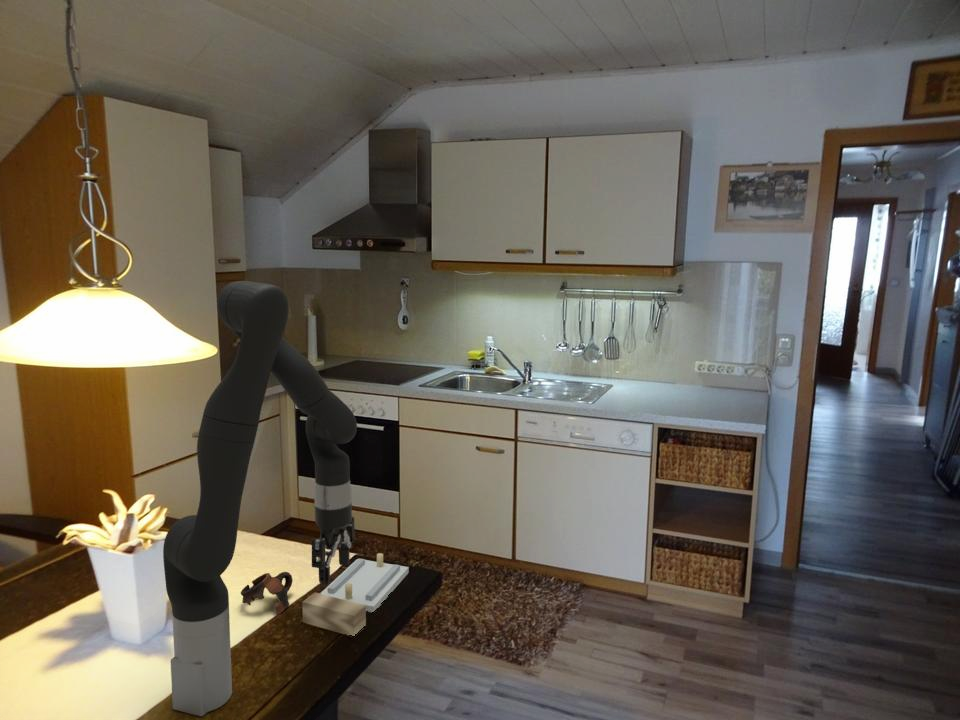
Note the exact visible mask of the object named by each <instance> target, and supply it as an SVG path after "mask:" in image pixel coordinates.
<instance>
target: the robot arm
mask: <svg viewBox="0 0 960 720" xmlns="http://www.w3.org/2000/svg"><path fill="white" fill-rule="evenodd" d="M216 305H217V312H218V315H219V317H220V320H221V322H222V323H223V324H224V325H225V326H226V327H227V328H228V329H229V330H230V331H231V332H232V333H233V334H234V335H235V336H236V337H237V338H238V339H240V340H239V343H238V348H237V353H236V355H235V358H234V360H233V363H232V365H231V367H230V369H229V370H228V371H227V373H226V374H225V376H224V377H223V379H222V380H221V381H220V382H219V384H218V385H217V386H216V388H214V390H213V391H212V393H211V395H210V396H209V398H208V399H207V402H206V403H205V407H204V410H203V413H202V417H201V420H200V421H201V422H200V425H199V429H198V435H197V436H198V437H197V442H196V443H197V444H196V455H197V456H196V459H197V467H198V468H197V469H198V474H199V482H200V483H199V487H200V492H199V493H200V495H199V496H200V497H199V502H198V508H197V512H196V514H191V515H187V516H183V517H181V518H180V519H178V520H177V521H175V522H174V523H172V524H173V525H171V526H170V528H169V530H168V531H167V533H166V535H165V537H164V542H163V551H162V552H163V557H162V558H163V560H162V561H163V568H164V571H163V572H164V580H165V588H166V589H165V591H166V594H167V597H168V600H169V602H170V605H171V614H172V615H171V616H172V634H173V652H174V654H173V655H174V656H173V657H172V658H171V659H170V662H169V663H170V677H171V678H170V680H171V697H172V709H173V710H174V711H179V712H182V713H183V712H184V713H187V714H190V715H194V716H198V717H204V715H206V714H207V713H210V712H212V711H214V710H216V709H218V708H221V707H222V706H223V705H225V704H226V703H228V701H230V700H229V699H231V697H232V694H233V682H232V656H231V655H232V653H231V627H230V624H231V623H230V597H229V590H228V587H227V585H226V583H225V582H224V579H222V577H221V575H222V574H224V573H225V572H226V570H227V569H228V567H229V566H230V564H231V562H232V560H233V557H234V554H235V550H236V545H237V539H238V538H237V537H238V528H239V520H240V514H241V513H240V512H241V503H242V498H243V495H244V489H245V484H246V480H247V475H248V470H249V466H250V461H251V456H252V452H253V449H254V445H255V440H256V437H257V432H258V428H259V423H260V419H261V417H260V416H261V412H262V407H263V404H264V400H265V396H266V392H267V388H268V384H269V380H270V377H271V373H272V375H273V376H274V377H275V379H276V380H277V382H278V383H279V384H280V386H281V387H282V388H283V389H284V391H285V392H286V394H287V395H288V396H289V398H290V399H291V400H292V402H293V403H294V406H296V407H297V409H298V410H299V411H300V412H301V413H303V414H304V415H307V417H306V421H305V433H306V438H307V441H308V446H309V449H310V452H311V455H312V457H313V458H312V459H313V461H314V470H315V471H314V478H315V479H314V480H315V483H314V484H315V485H314V494H313V495H314V497H313V498H314V522H315V525H316V526H318V528H319V529H320V535H319V538H312V540H311V567H312V568H316V569H318V582H319V583H320V584H324V585H329V583H331V566H330V565H331V560H332V558H334V557H335V555H336V553H337V549H338V564H339V565H340V566H345V567H347V566H348V567H349V566H350V561H351V560H350V558H351V557H350V549H351V547H352V543H355V542H356V530H355V517H354V516H353V512H352V510H353V509H352V508H353V507H352V485H351V474H350V473H351V469H350V466H351V465H350V457H349V455H348V454H347V453H346V452H345V451H343V450H341V449H340V448H339V447H338V446H337V445H343V444H344V445H345V444H347V443H350V441H352V440H353V439H354V438H355V436H356V434H357V430H358V429H357V428H358V423H357V419H356V416H355V414H354V412H353V411H352V410H351V408H350V407H349V406H347V405H346V403H345V402H344V401H343V400H341V398H339V396H338V395H336V394H335V393H334V392H332V391H331V390H330V388H329V387H328V385H327V383H326V382H325V380H324V379H323V378H322V375H320V373H319V372H318V370H317V368H315V366H314V365H313V364H312V363H311V362H310V360H308V359H307V358H306V357H305V356H304V355H303V354H302V353H301V352H299V350H297V348H295V347H294V346H293V345H292V344H290V342H289V341H288V340H286V338H285V337H284V333H285V330H286V327H287V323H288V318H289V313H290V312H289V309H290V308H289V306H290V304H289V300H288V297H287V295H286V293H285V292H284V290H282V288H281V287H279V286H277V285H274V284H270V283H264V282H255V281H249V280H237V281H232V282H230V283H228V284H227V285H225V286H224V287H223V288H222V289H221V291H220V293H219V294H218V297H217V304H216ZM348 533H349V534H348ZM338 547H339V548H338ZM327 550H329V551H327Z"/></svg>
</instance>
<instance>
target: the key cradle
mask: <svg viewBox="0 0 960 720" xmlns="http://www.w3.org/2000/svg"><path fill="white" fill-rule="evenodd" d="M409 569H410V567H409V566H404V565H400V564H396V563H395V564H391V563H387V562H384V553H381V552H378V553H376V561H374V560H368V559H364V558H357V559H355V560H354V562H352V563H351V564H349V565H348V567H347V568H346V569H345V570H343V572H342V573H340V575H338V576H337V577H336V578H335V579H334V580H332V582H330V584H328V586H326V588H325V589H323V590H322V591H321V592H319V593H320V594H323V595H327V596H331V597H335V598H339V599H342V600H346V601H350V602H354V603H357V604H361V605H365V606H366V612H367V611H368V613H372V612H374V611H375V610H376V609H377V608H378V609H379V607H381V606H382V604H383V603H384V602H385V601H386V599H387V598H388V597H389V596H390V595H391V594H392V593H393V592H394V591H395V590H396V588H397V587H398V585H400V584H401V582H402V581H403V580H404V579H405V578H406V577H407V576H408V574H409V572H410V571H409ZM391 592H392V593H391ZM390 593H391V594H390ZM389 594H390V595H389ZM388 595H389V596H388ZM384 600H385V601H384ZM383 601H384V602H383ZM382 602H383V603H382ZM381 603H382V604H381ZM378 609H377V610H378ZM377 610H376V611H377ZM376 611H375V612H376ZM375 612H374V613H375Z"/></svg>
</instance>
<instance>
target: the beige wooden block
mask: <svg viewBox="0 0 960 720" xmlns="http://www.w3.org/2000/svg"><path fill="white" fill-rule="evenodd" d="M320 593H321V592H313V593H312V594H311V595H310V596H307V598H306V599H304V600H303V601H302V603H301V606H302V623H304V624H307V625H310V626H313V627H318V628H322V629H325V630H328V631H331V632H336V633H338V634H342V635H345V634H346V635H345V636H349V635H352V636H355V634H357V633H358V632H359V631H360V630H361V629H362V628H363V627H364V626H366V627H367V625H366V624H367V616H366V614H367V611H366V606H365V605H361V604H357V603H354V602H350V601H346V600H342V599H339V598H335V597H331V596H327V595H323V594H320ZM363 629H364V628H363ZM363 629H362V630H363ZM362 630H361V631H362ZM361 631H360V632H361ZM360 632H359V633H360ZM359 633H358V634H359ZM358 634H357V635H358ZM352 636H351V637H352ZM355 637H356V636H355Z"/></svg>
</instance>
